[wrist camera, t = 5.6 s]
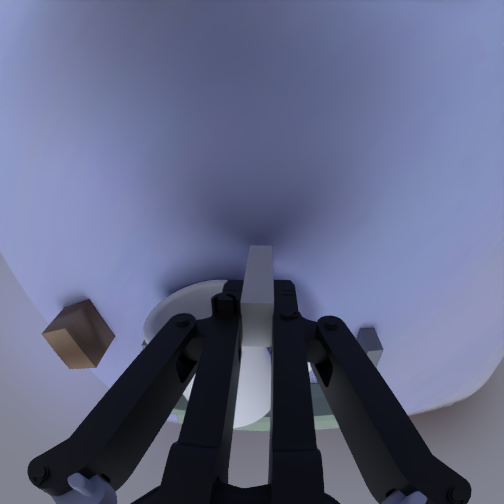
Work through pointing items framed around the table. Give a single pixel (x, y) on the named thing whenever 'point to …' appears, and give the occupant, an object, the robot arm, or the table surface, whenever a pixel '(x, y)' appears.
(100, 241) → the table surface
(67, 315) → the walnut block
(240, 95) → the table surface
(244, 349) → the mug
